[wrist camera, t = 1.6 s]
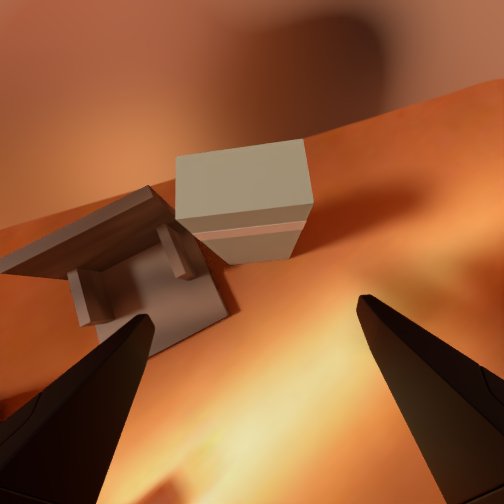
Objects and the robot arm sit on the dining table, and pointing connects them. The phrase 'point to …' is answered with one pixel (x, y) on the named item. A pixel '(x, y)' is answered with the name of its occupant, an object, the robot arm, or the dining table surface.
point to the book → (245, 200)
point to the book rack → (128, 269)
